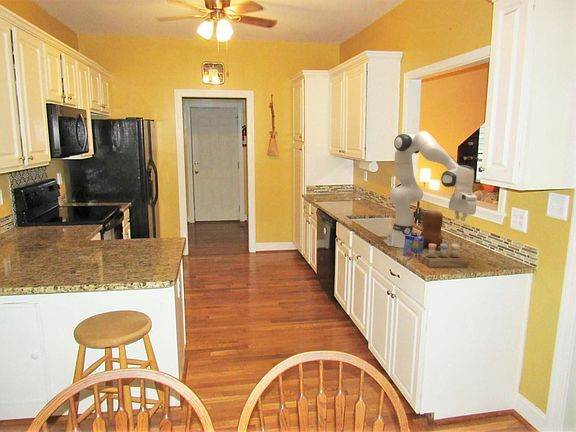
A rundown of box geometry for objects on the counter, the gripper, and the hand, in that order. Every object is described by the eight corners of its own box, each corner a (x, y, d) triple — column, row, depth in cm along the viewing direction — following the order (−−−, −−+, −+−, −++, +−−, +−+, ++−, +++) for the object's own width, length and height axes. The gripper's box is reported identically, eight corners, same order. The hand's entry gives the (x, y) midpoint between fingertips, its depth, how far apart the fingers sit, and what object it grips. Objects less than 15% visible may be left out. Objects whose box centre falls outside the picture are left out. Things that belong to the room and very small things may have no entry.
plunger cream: (448, 255, 244) (450, 243, 242) (455, 255, 244) (456, 243, 243) (452, 257, 240) (454, 245, 239) (459, 257, 241) (460, 245, 239)
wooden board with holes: (417, 260, 246) (418, 253, 245) (452, 260, 250) (453, 253, 250) (430, 267, 232) (431, 260, 232) (467, 267, 237) (467, 260, 236)
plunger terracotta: (426, 255, 241) (427, 243, 240) (432, 255, 242) (434, 243, 240) (429, 257, 237) (431, 245, 236) (436, 257, 238) (437, 245, 237)
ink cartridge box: (402, 255, 257) (405, 231, 254) (406, 253, 261) (409, 230, 259) (418, 258, 251) (421, 234, 248) (422, 257, 255) (425, 233, 253)
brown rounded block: (438, 246, 285) (442, 209, 280) (443, 251, 272) (448, 212, 267) (417, 245, 286) (420, 207, 282) (421, 249, 273) (425, 210, 269)
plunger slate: (437, 255, 242) (438, 243, 241) (444, 255, 243) (445, 243, 242) (441, 257, 238) (442, 245, 237) (448, 257, 239) (449, 245, 238)
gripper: (447, 192, 246) (444, 216, 248) (468, 197, 226) (465, 223, 228) (457, 193, 247) (454, 216, 249) (479, 197, 227) (476, 223, 230)
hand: (460, 220), depth 239 cm, fingers open, 4 cm apart
